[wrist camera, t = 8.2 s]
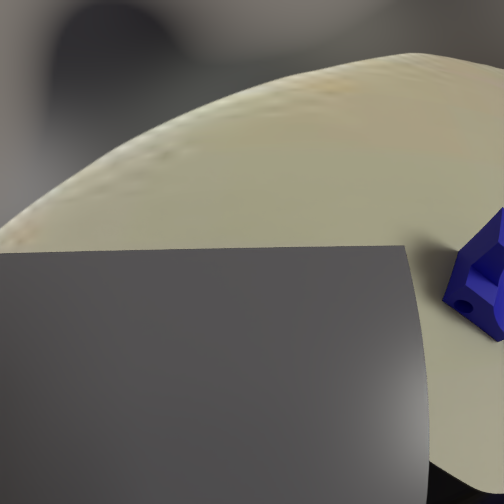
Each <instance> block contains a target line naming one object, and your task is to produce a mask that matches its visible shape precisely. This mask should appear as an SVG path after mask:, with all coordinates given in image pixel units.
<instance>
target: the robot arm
mask: <svg viewBox="0 0 504 504" xmlns="http://www.w3.org/2000/svg"><path fill="white" fill-rule="evenodd" d="M426 504H504V494H492V493H486V492H482V491H480V490H477V489H475V488H473V487H471V486H469V485H467V484H466V483H464V482H462V481H460V480H459V479H457V478H455V477H454V476H452V475H450V474H449V473H447V472H446V471H444V470H442V469H441V468H439V467H438V466H436V465H435V464H433V463H432V462H430V461H429V473H428V488H427V500H426Z"/></svg>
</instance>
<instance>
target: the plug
mask: <svg viewBox="0 0 504 504" xmlns="http://www.w3.org/2000/svg"><path fill="white" fill-rule="evenodd" d="M428 473H429V404H428V388H427V375H426V365H425V356H424V348H423V340H422V333H421V326H420V320H419V314H418V308H417V302H416V297H415V292H414V287H413V282H412V277H411V272H410V268H409V264H408V259H407V255H406V251H405V247H404V246H336V247H274V248H219V249H169V250H122V251H79V252H39V253H2V254H0V504H426V500H427V488H428Z"/></svg>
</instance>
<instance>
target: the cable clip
mask: <svg viewBox="0 0 504 504" xmlns="http://www.w3.org/2000/svg"><path fill="white" fill-rule="evenodd" d="M442 301H444V302H445V303H446V304H448V305H449V306H451V307H452V308H453V309H455V310H456V311H457V312H459V313H460V314H462V315H463V316H464V317H466V318H467V319H468V320H470V321H471V322H472V323H474V324H475V325H476V326H478V327H479V328H480V329H482V330H483V331H484V332H486V333H487V334H488V335H490V336H491V337H492V338H493V339H495V340H496V341H497V342H499V341H502V340H504V208H503V207H502V208H501V209H500V210H499V211H498V213H497V214H496V215H495V216H494V217H493V218H492V219H491V220H490V221H489V222H488V223H487V224H486V225H485V226H484V227H483V228H482V229H481V230H480V231H479V232H478V233H477V234H476V235H475V236H474V237H473V238H472V239H471V240H470V241H469V242H468V243H467V244H466V245H465V246H464V247H463V248H462V249H461V250H460V251H459V252H458V255H457V259H456V262H455V265H454V268H453V271H452V275H451V278H450V281H449V283H448V286H447V289H446V292H445V295H444V298H443V300H442Z"/></svg>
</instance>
